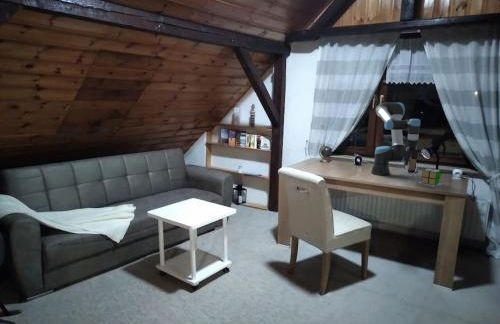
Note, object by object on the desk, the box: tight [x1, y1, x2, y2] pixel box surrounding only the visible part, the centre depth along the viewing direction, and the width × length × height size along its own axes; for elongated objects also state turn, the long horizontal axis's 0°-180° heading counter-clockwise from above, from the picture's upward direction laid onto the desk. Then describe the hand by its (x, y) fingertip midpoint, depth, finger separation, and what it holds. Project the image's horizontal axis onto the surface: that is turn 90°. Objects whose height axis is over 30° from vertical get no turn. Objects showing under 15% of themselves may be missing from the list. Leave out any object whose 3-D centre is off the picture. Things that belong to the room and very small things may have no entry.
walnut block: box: [403, 157, 417, 171], centre depth 274 cm, size 6×6×8 cm
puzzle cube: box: [420, 168, 442, 185], centre depth 269 cm, size 10×10×10 cm
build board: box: [416, 181, 446, 189], centre depth 270 cm, size 14×14×1 cm
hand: (409, 168), depth 275 cm, fingers closed on walnut block, 6 cm apart
